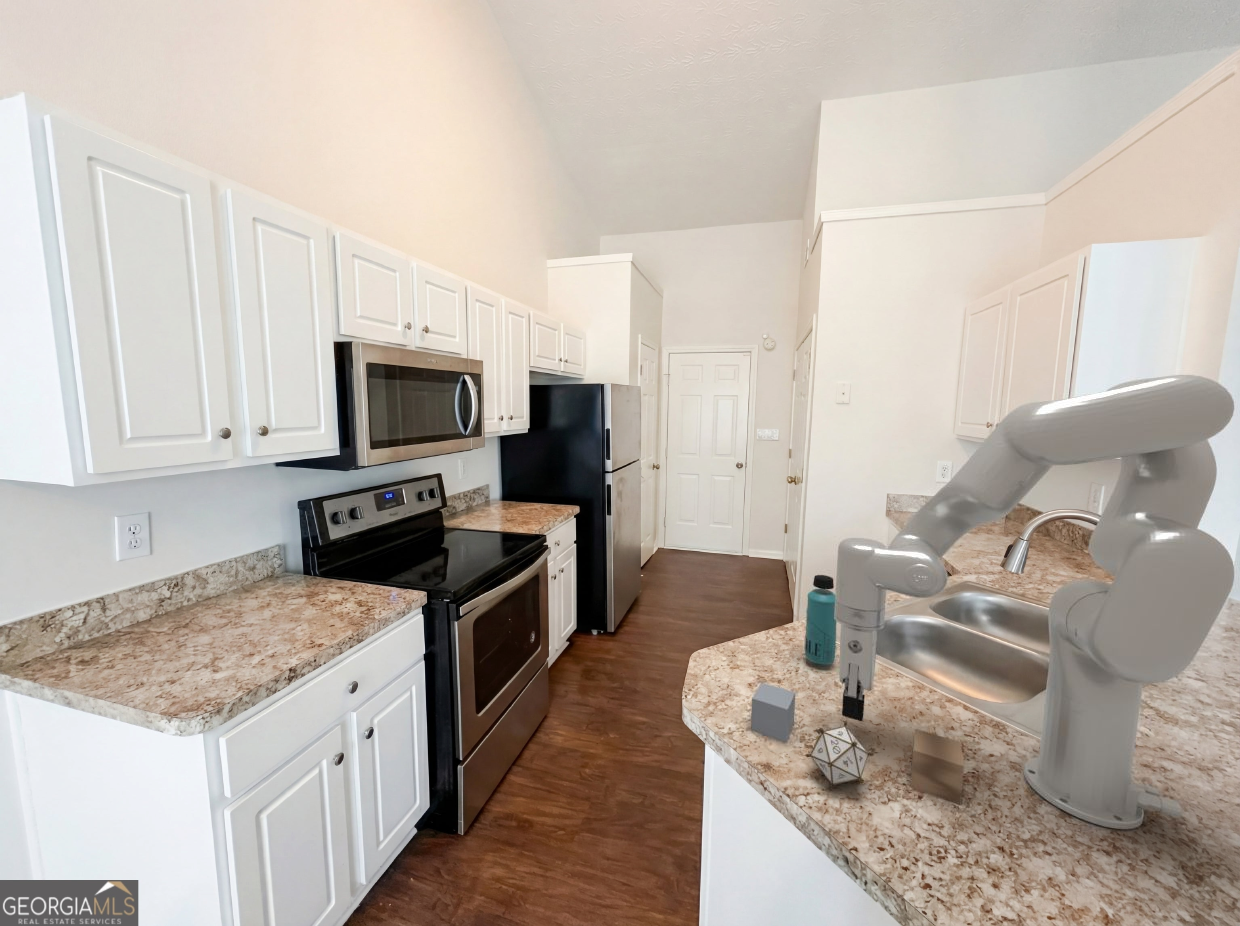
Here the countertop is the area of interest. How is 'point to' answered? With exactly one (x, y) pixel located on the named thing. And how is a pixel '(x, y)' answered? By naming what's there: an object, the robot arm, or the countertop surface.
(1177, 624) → the robot arm
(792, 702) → the slate block
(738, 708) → the countertop surface
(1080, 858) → the countertop surface
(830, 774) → the game die
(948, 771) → the walnut block
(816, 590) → the beverage bottle
